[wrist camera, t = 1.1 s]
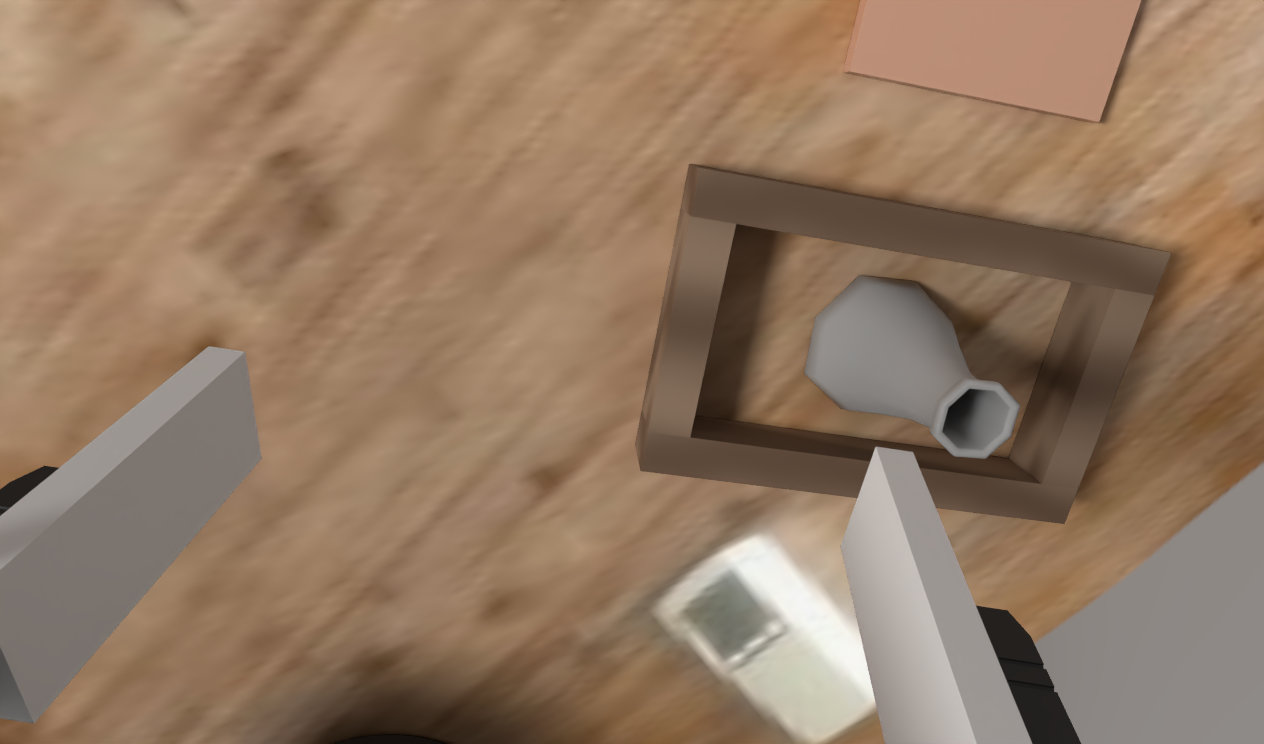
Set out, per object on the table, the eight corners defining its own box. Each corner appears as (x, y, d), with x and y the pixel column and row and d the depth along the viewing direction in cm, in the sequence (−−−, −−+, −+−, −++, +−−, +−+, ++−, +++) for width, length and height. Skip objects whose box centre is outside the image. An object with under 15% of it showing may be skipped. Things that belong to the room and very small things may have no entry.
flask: (972, 309, 38) (1108, 374, 28) (897, 432, 39) (1001, 532, 30) (850, 249, 36) (950, 296, 27) (778, 380, 38) (848, 467, 28)
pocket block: (1030, 496, 41) (1064, 523, 38) (635, 444, 38) (640, 470, 35) (1125, 242, 37) (1171, 252, 34) (689, 163, 34) (699, 167, 31)
